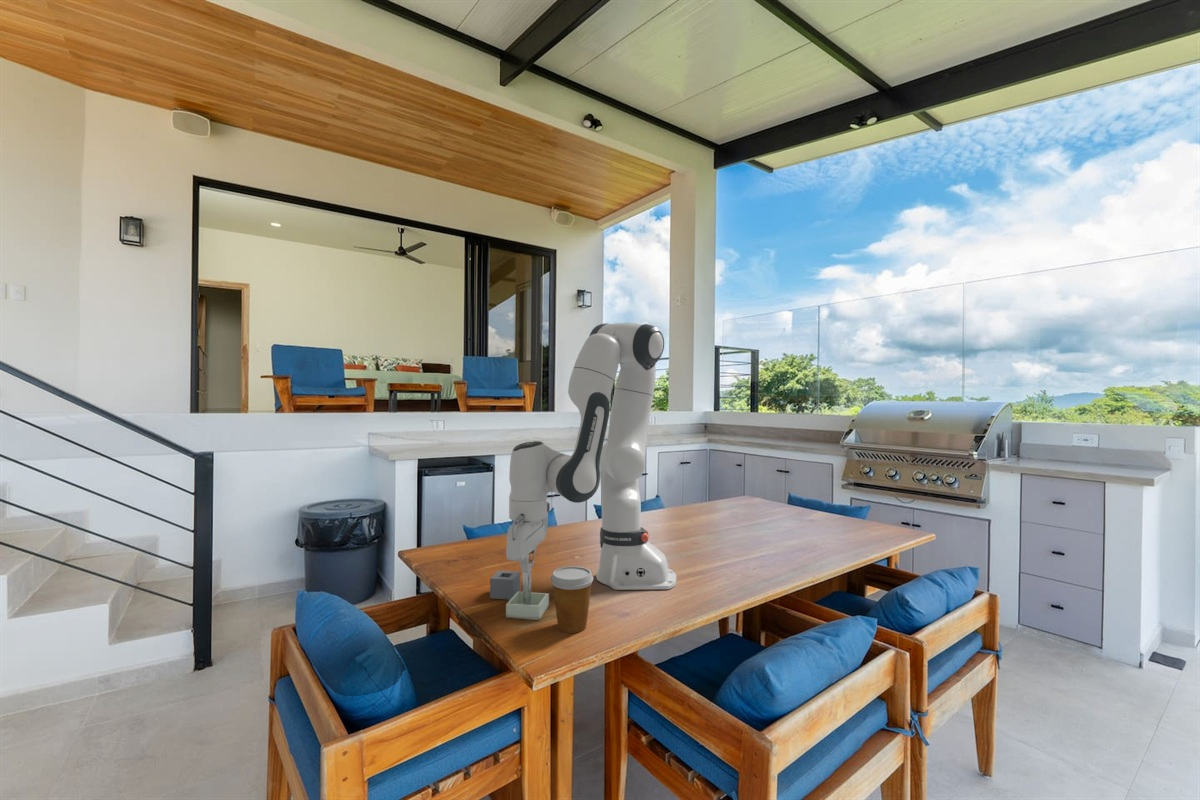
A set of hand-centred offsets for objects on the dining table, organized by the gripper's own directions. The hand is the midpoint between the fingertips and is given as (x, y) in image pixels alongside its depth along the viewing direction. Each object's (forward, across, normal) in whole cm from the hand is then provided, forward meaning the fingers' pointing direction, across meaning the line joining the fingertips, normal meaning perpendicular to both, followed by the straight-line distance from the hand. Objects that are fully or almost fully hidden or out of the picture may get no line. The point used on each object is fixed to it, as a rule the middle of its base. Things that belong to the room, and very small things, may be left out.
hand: (527, 568), depth 119 cm
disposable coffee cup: (+10, -6, -12) cm, 17 cm away
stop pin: (+8, 0, 0) cm, 9 cm away
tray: (+10, 0, 0) cm, 10 cm away
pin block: (+10, +9, +9) cm, 16 cm away
